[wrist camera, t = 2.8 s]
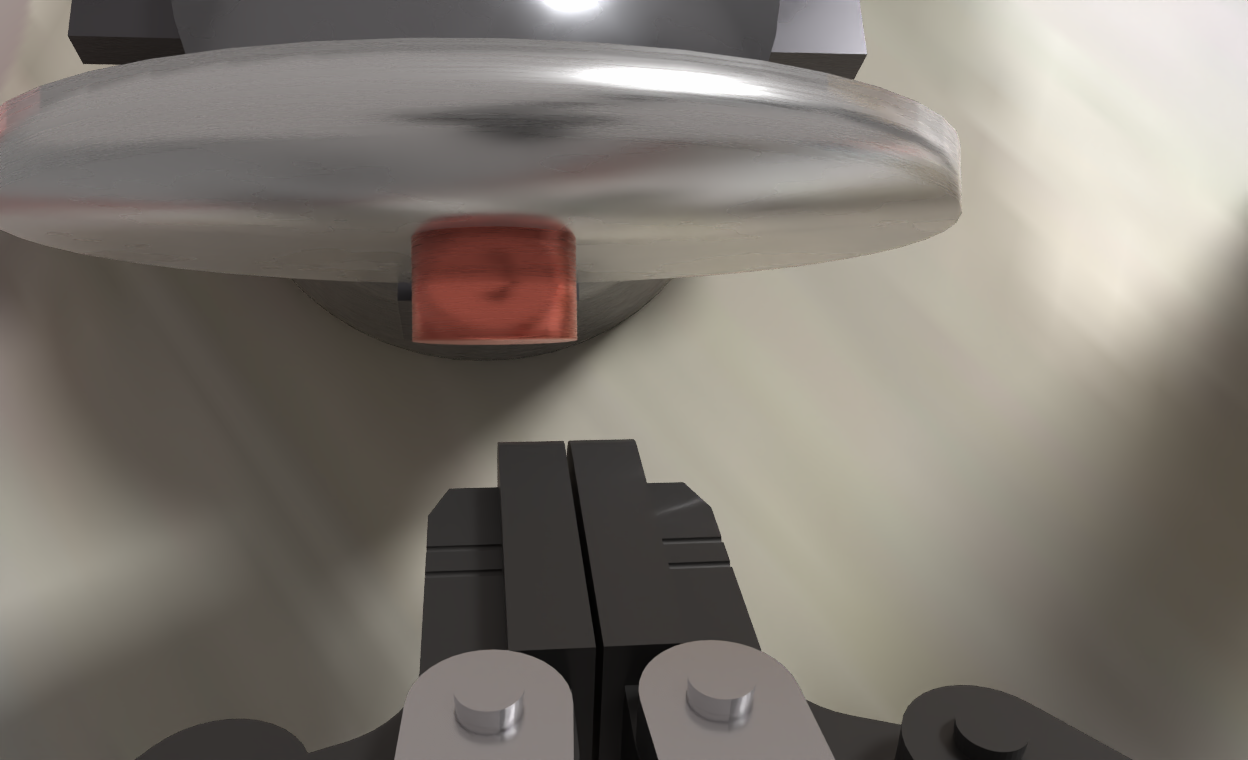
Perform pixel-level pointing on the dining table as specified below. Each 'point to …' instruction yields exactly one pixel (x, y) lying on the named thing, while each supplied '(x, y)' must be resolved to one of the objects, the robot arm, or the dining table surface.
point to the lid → (473, 170)
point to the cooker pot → (477, 8)
